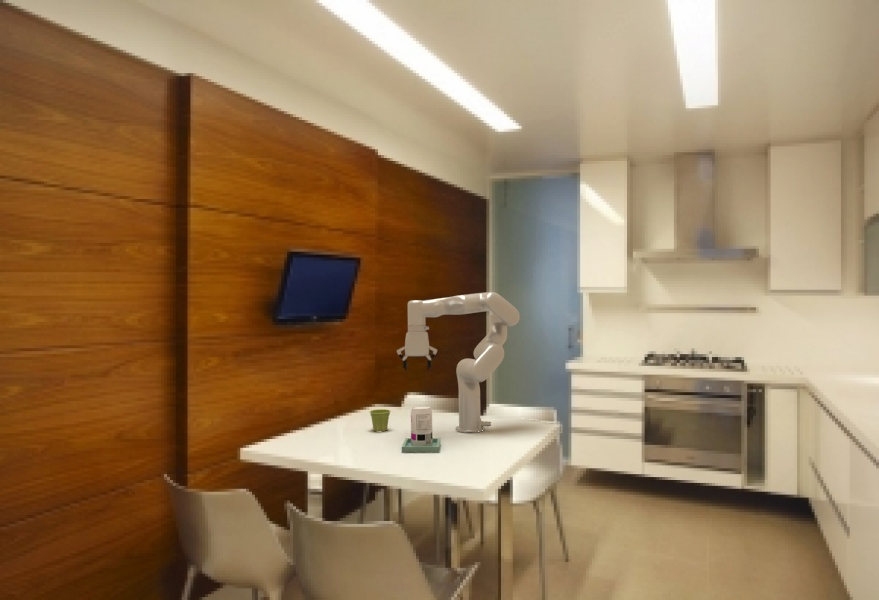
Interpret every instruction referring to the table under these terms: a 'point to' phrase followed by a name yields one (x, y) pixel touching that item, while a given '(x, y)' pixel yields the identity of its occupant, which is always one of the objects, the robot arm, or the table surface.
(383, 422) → the plant pot
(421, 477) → the table surface
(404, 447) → the tray
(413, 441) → the supplement can
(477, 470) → the table surface
